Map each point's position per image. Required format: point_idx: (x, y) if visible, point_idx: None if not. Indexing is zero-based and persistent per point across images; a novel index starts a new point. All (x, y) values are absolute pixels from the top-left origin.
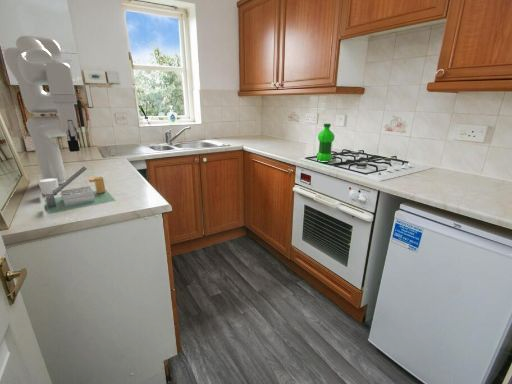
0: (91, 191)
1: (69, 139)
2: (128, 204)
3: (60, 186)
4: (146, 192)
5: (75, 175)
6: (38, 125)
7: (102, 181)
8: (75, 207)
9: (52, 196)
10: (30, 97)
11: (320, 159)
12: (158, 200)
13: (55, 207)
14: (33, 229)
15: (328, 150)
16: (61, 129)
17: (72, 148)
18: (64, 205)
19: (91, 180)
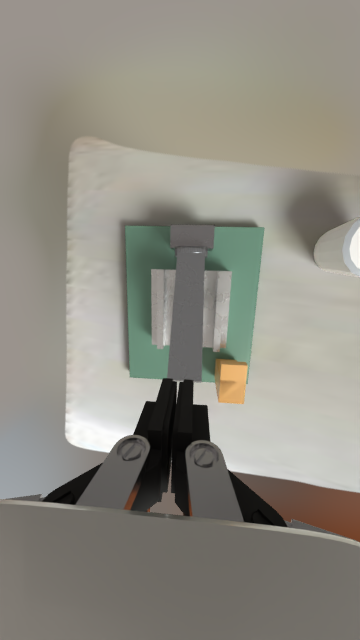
0: (157, 344)
1: (112, 456)
2: (113, 391)
3: (190, 272)
4: None
5: (172, 330)
6: None
7: (217, 392)
8: (134, 290)
9: (181, 243)
10: None
11: None
12: (101, 445)
13: (166, 247)
14: (70, 191)
15: None
16: (10, 573)
17: (146, 404)
18: (168, 269)
19: (220, 367)
